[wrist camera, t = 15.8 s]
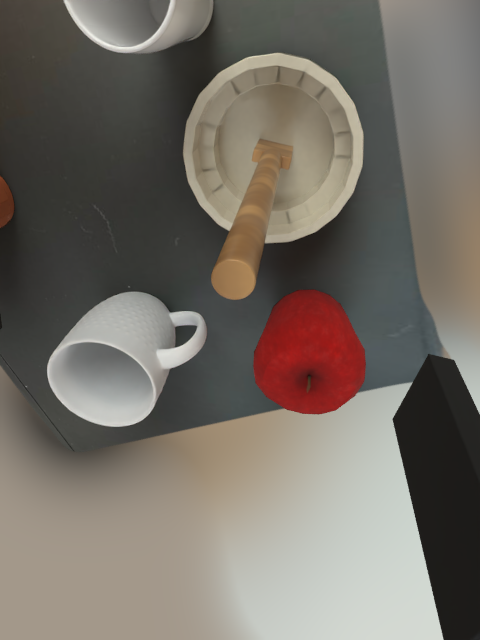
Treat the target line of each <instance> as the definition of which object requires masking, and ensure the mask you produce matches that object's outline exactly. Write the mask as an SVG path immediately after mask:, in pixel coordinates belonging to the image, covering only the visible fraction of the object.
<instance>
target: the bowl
mask: <svg viewBox="0 0 480 640" xmlns="http://www.w3.org/2000/svg"><path fill="white" fill-rule="evenodd" d="M186 123H187V124H186V129H185V137H184V146H183V157H184V163H185V168H186V174H187V180H188V182H189V184H190V186H191V188H192V190H193V192H194V194H195V196H196V198H197V200H198V202H199V204H200V206H201V207H202V208H203V209H204V210H205V211H206V212H207V213H208V214H209V215H210V216H211V218H212V219H213V220H214V221H215V222H216V223H217V224H218V225H220V226H221V227H223V228H225V229H227V230H228V231H230V229H231V226H232V224H233V222H234V219H235V217H236V214H237V212H238V210H239V207H240V205H241V203H242V200H243V198H244V195H245V193H246V191H247V188H248V186H249V184H250V181H251V179H252V176H253V174H254V172H255V169H256V167H257V165H258V163H256V162H252V156H253V151H254V148H255V146H256V144H257V142H258V141H259V139H264V140H268V141H273V142H277V143H281V144H285V145H290V146H293V153H292V160H291V164H290V168H289V170H286V169H282V168H281V169H280V174H279V179H278V183H277V188H276V192H275V197H274V202H273V206H272V211H271V215H270V220H269V224H268V229H267V234H266V238H265V243H278V242H290V241H294V240H296V239H299V238H302V237H304V236H307V235H310V234H312V233H315V232H316V231H318V230H319V229H320V228H322V227H323V226H324V225H326V224H327V223H328V222H329V221H331V220H332V219H333V218H335V217H336V216H337V215H338V213H339V212H340V211H341V209H342V208H343V206H344V205H345V204H346V202H347V201H348V200H349V198H350V197H351V195H352V194H353V192H354V189H355V186H356V183H357V181H358V178H359V175H360V172H361V169H362V166H363V138H364V135H363V130H362V127H361V124H360V120H359V117H358V114H357V110H356V107H355V104H354V102H353V101H352V100H351V98H350V97H349V95H348V94H347V93H346V91H345V90H344V88H343V87H342V86H341V84H340V83H339V81H338V80H337V79H336V78H335V76H334V75H333V74H332V73H330V72H329V71H327V70H326V69H324V68H323V67H321V66H320V65H318V64H317V63H315V62H314V61H312V60H311V59H309V58H306V57H301V56H297V55H293V54H289V53H284V52H278V53H271V54H264V55H257V56H251V57H248V58H245V59H243V60H241V61H239V62H237V63H236V64H234V65H232V66H230V67H228V68H226V69H224V70H223V71H221V72H220V73H218V74H217V75H216V77H215V78H214V79H213V80H212V81H211V82H210V83H209V84H208V85H207V86H206V88H205V89H204V90H203V91H202V92H201V93H200V94H199V96H198V98H197V100H196V102H195V104H194V107H193V109H192V111H191V113H190V116H189V118H188V120H187V122H186Z"/></svg>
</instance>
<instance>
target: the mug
mask: <svg viewBox="0 0 480 640" xmlns="http://www.w3.org/2000/svg"><path fill="white" fill-rule="evenodd" d="M183 325H196V326H197V330H196V332H195V334H194V335H193V337H192V338H191V339H190V340H189V341H188V342H186V343H185V344H183V345H181V346H179V347H176V348H175V338H176V335H175V327H176V326H183ZM206 337H207V327H206V323H205V321H204V319H203V317H202V316H201V315H200V314H199V313H196V312H192V311H180V312H172V313H170V312H169V310H168V309H167V307H166V306H165V305H164V304H163V303H162V302H161V301H160V300H159V299H157V298H156V297H154V296H152V295H150V294H147V293H143V292H125V293H121V294H118V295H114V296H112V297H111V298H108V299H106V300H105V301H103V302H101V303H100V304H98V305H96V306H95V307H94V308H93V309H91V310H90V311H89V312H88V313H87V314H86V315H84V316H83V317H82V319H81V320H80V321H79V322H77V324H76V325H75V327H73V328H72V329H71V331H70V332H69V333H68V334H67V335H66V336H65V338H64V339H63V341H62V342H61V343H60V345H59V346H58V347H57V348H56V350H55V351H54V352H53V354H52V355H51V357H50V359H49V362H48V366H47V375H48V380H49V383H50V386H51V388H52V390H53V392H54V393H55V395H56V396H57V398H58V399H59V400H60V401H61V402H62V403H63V404H64V405H65V406H66V407H67V408H68V409H69V410H70V411H72V412H73V413H75V414H76V415H78V416H79V417H81V418H83V419H86V420H88V421H90V422H93V423H96V424H100V425H105V426H113V427H121V426H128V425H132V424H135V423H138V422H140V421H141V420H143V419H144V418H146V417H147V416H148V415H149V414H150V412H151V411H152V409H153V408H154V406H155V404H156V401H157V399H158V397H159V395H160V393H161V392H162V389H163V386H164V384H165V382H166V378H167V376H168V375H169V370H170V368H174V367H176V366H179V365H181V364H183V363H185V362H187V361H188V360H190V359H191V358H192V357H194V356H195V355H196V354H197V353H198V352H199V351H200V349H201V348H202V347H203V345H204V343H205V341H206Z"/></svg>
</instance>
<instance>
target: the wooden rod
mask: <svg viewBox="0 0 480 640" xmlns="http://www.w3.org/2000/svg"><path fill="white" fill-rule="evenodd" d="M292 153H293V146H290V145H285V144H281V143H277V142H273V141H268V140H264V139H259V141H258V142H257V144H256V146H255V148H254V151H253V156H252V162H256V163H258V165H257V167H256V169H255V172H254V174H253V176H252V179H251V181H250V184H249V186H248V188H247V191H246V193H245V195H244V198H243V200H242V203H241V205H240V207H239V210H238V212H237V214H236V217H235V219H234V222H233V224H232V226H231V229H230V231H229V233H228V236H227V238H226V241H225V243H224V245H223V248H222V250H221V252H220V255H219V257H218V260H217V262H216V264H215V267H214V269H213V271H212V275H211V281H212V285H213V287H214V289H215V290H216V291H217V292H218V293H219V294H220V295H221V296H223V297H225V298H227V299H232V300H238V299H242V298H245V297H247V296H248V295H249V294H250V293H251V292H252V291H253V290H254V287H255V284H256V279H257V275H258V270H259V266H260V261H261V256H262V252H263V247H264V243H265V238H266V234H267V229H268V224H269V220H270V215H271V211H272V206H273V202H274V197H275V192H276V188H277V183H278V179H279V174H280V169H281V168H282V169H286V170H289V168H290V164H291V160H292Z"/></svg>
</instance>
